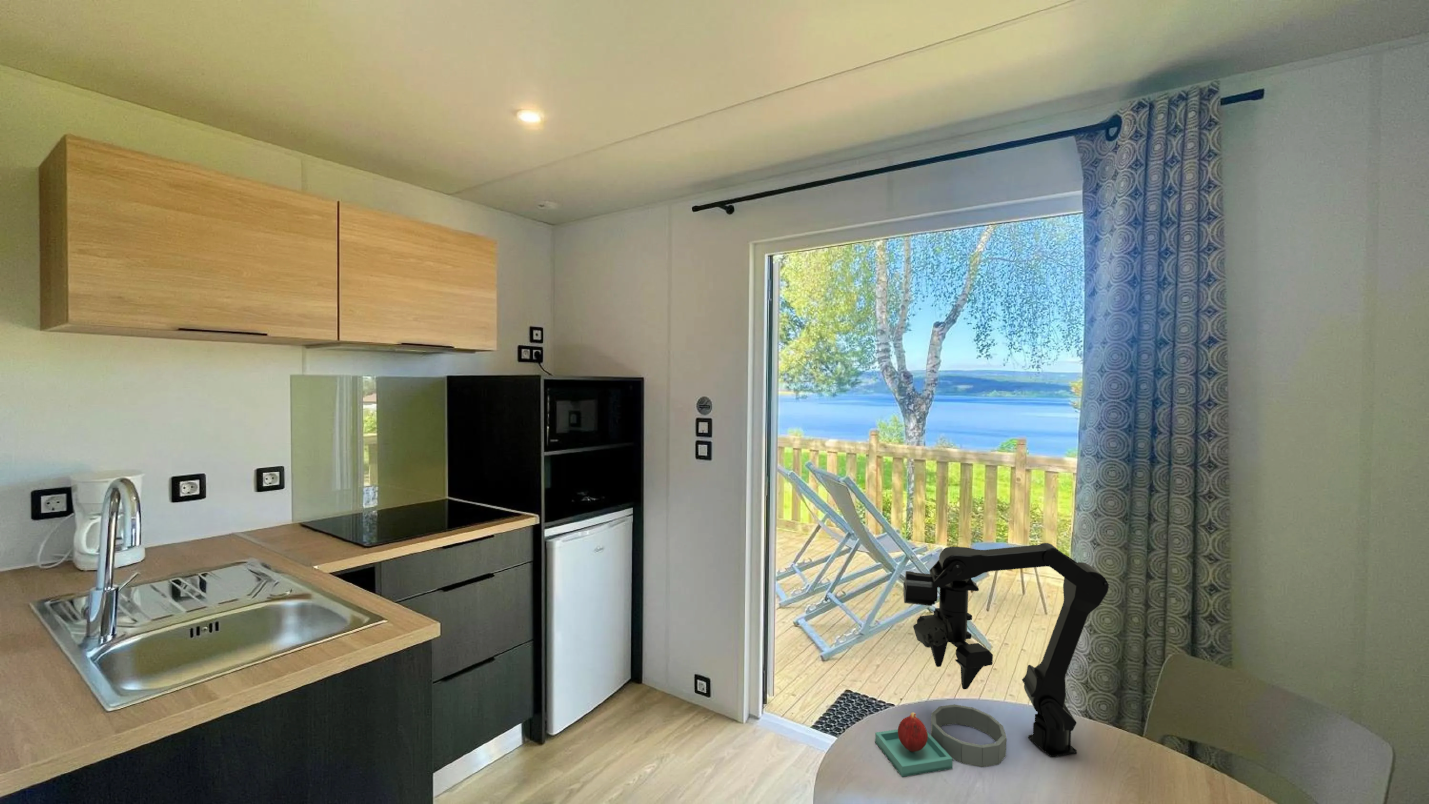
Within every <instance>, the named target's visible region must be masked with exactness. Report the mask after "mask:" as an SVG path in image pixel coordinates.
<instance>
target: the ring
mask: <svg viewBox="0 0 1429 804" xmlns="http://www.w3.org/2000/svg"><path fill="white" fill-rule="evenodd" d="M942 725H944V726H951V725H960V726H964V725H966V727H970V728H973V727H974V729H975V730H978V731H980V732H982V733H984V734H986V735H988V736H989V737H990V738H991V739H992V740H994V742H993V743H986V744H977V743H973V742H967V741H963V740H961V739H958V738H957V737H954V736H953V735H949V734H948V733H946V732H945V730H943V729H942V727H943V726H942ZM930 735H931V736H932V737H933V738H934V739H935V740H936V741H937V742H938V744H939V745H940V746H941V747H942V748H943V749H944V750H945V751H946V752H947V753H948V754H949V755H950V756H951V757H952V758H953V760H955V761H957V762H959V763H960V764H963V765H969V766H975V767H979V768H986V767H991V766H997V765H999V764H1001V762H1002V761H1003V760H1004V759H1005V758H1006V756H1007V737H1008V736H1007V734H1006V731H1005V727H1004V725H1003V724H1002V723H1000V722H999V720H997V719H996V718H994V717H993V715H991V714H988V713H986V712H984V711H982V710H980V709H977V708H974V707H973V706H966V705H959V704H948V705H947V704H946V705H939V706H938V707H937V708H935V710H933V711H932V712H931V713H930Z"/></svg>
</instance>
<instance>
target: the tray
mask: <svg viewBox="0 0 1429 804" xmlns="http://www.w3.org/2000/svg"><path fill="white" fill-rule="evenodd" d="M874 733H875V735H874V736H875V737H874V738H875V740H874V742H875V744H876V745H877V746H878V747H879V749H880V750H881V751H882V753H883V754H884V755H885V757H886V758H887V760H889V762H890V763H891V764H892V766H893V768H894V769H895V770H896V771H897V772H898V774H899V775H900V776H901V778H905V777H912V776H917V775H923V774H929V773H935V772H941V771H942V772H943V771H948V770H953V766H954V765H953V764H954V763H953V762H954V761H953V760H954V759H953V758H952V757H951V756H950V755H949V754H948V753H947V752H946V751H945V750H944V749H943V748H942V747H941V746H940V745H939V744H938V742H937V741H936V740H935V739H934V738H933V737H932V736H931V733H929V732H928V731H927V734H928V739H927V743H926V745H925V746H924V748H922V749H921V750H919V751H915V752H911V751H909V750H908V749H906V748H905V747H904V746H903V745H902V743H901V742H900V740H899V737H898V728H897V729H889V730H883V731H875V732H874Z"/></svg>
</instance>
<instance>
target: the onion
mask: <svg viewBox="0 0 1429 804" xmlns="http://www.w3.org/2000/svg"><path fill="white" fill-rule="evenodd" d="M897 729H898V737H899V740H900V742H901V743H902V745H903V746H904V747H905V748H906V749H908V750H909V751H911V752H915V751H919V750H921V749H922V748H924V746H925V745H926V743H927V739H928V734H927V732H928V731H927V728H926V725H925V724H924V722H923V721H922V720H921V719H920V718H918V717H917V713H915V712H914V711H912V712H910V715H909V716H906V717H904V718H903V719H902V720H901V721H900V722H899V724H898V727H897Z"/></svg>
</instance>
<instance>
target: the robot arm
mask: <svg viewBox="0 0 1429 804" xmlns="http://www.w3.org/2000/svg"><path fill="white" fill-rule="evenodd" d="M1044 567H1047V568H1048V567H1049V568H1051V569H1052V570H1053V571H1055V572H1056V573H1058V574H1059V575H1061V577H1063V585H1062V590H1063V602H1062V606H1061V609H1060V611H1059V614H1058V617H1057V620H1056V623H1055V625H1054V628H1053V630H1052V633H1051V635H1050V639H1049V642H1048V644H1047V646H1046V650H1045V651H1044V655H1043V657H1042V660H1041V662H1040V663H1039V664H1038V665H1036V666H1035V667H1034V666H1033V665H1031V664H1027V667H1026V673H1025V676H1024V677H1023V678H1022V679H1021V680H1022V683H1023V688H1024V689H1023V690H1024V691H1025V693H1026V695H1027V698H1028V699H1029V701H1030V703H1031V705H1032V707H1033V708H1034V710H1035V711H1036V712H1037V713H1035V714H1034V722H1032V723H1033V724H1032V727H1033V728H1032V734H1028V737H1027V738H1028V739H1029V741H1031V742H1032V743H1033V744H1035V745H1036V746H1037V747H1039V748H1040V750H1041V751H1043V752H1044V753H1045V754H1046V755H1048V756H1049V757H1050V758H1055V757H1063V756H1068V755H1073V754H1077V753H1078V751H1077V749H1076V748H1075V747H1074V746H1072V745H1071V740H1072V731H1074V729H1075V727H1076V725H1077V721H1076V719H1075V718H1074V716H1073V714H1072V713H1071V711H1070V710H1069V707H1067V705H1066V704H1065V701H1066V695H1067V691H1066V689H1067V688H1066V675H1067V673H1068V670H1069V667H1070V665H1071V662H1072V660H1073V657H1074V654H1075V652H1076V648H1077V647H1078V643H1079V641H1080V639H1081V635H1082V633H1083V630H1084V627H1085V625H1086V622H1087V620H1088V618H1089V615H1090V614H1091V613H1092V612H1094V611H1095V610H1096V609H1097V608H1098V607H1100V605H1101V604H1102V602H1103V601H1104V599H1105V598H1106V596H1107V595H1108V592H1109V590H1110V589H1109V588H1110V587H1109V585H1110V584H1109V582H1108V581H1107V578H1106V577H1104V576H1103V575H1102V574H1101V573H1100V572H1099V571H1098V570H1096V569H1095V568H1094V567H1092V566H1091V565H1090V564H1088V563H1086V562H1082V561H1079V562H1077V561H1076V560H1074V559H1072V557H1070V556H1069V555H1067V554H1065V553H1063V552H1062V551H1061V550H1059V549H1058V548H1057V547H1056V546H1054V545H1053V544H1051V543H1049V542H1042V543H1040V544H1039V543H1038V544H1033V545H1031V544H1030V545H1021V546H1020V545H1019V546H1013V547H1012V546H1011V547H1002V548H992V549H976V548H971V547H964V546H947V547H945V548H943V550H941V552H940V554H939V557H938V560H937V561H936V562H935V564H933V566H932V567H931V568H930V569H929V570H928V572H929V573H922V572H914V571H912V570H911V571H910V570H906V571H905V574H904V575H905V576H904V582H903V589H902V590H903V591H902V592H903V603H904V604H909V605H920V606H929V607H932V606H933V605H935V604H936V602H937V601H938V594H939V603H938V605H939V606H938V607H937V608H934V610H933V614H927V615H920V616H919V617H918V618H917V619H916V623H914V624H913V626H912V628H913V632H914V634H915V637H916V640H917V641H918V642H920V643H921V644H922V645H923V646H924V647H925V648H928V649H929V648H930V649H931V654H932V657H933V660H934V663H935V666H936V667H937V668H940V667H942V665H943V662H944V659H945V654H946V651H947V648H948V643H950V644H952V645H953V647H956V649H955V657H956V659H954V660H955V662H956V663H957V664H958V665H959V666H960V679H961V680H960V682H961V688H962V690H968V689H969V687H970V686H971V684H972V683H973V681H974V679H975V678H976V677H977V675H978V673H979V672H980V671H981V670H982V668H984V667H988V666H993V662H994V661H993V659H994V654H993V653H992V652H991V651H990V650H988V649H987V648H986V647H985V646H983V645H981V644H980V643H979V642H974V643H969V642H967V641H966V640H970V639H971V640H972V633H971V632H969V631H968V621H972V620H973V615H972V614H971V613H969V609H968V608H969V591H971V592H978V591H980V589H979V587H978V585H977V583H976V582H975V581H974V580H973V579H974V578H977V577H979V576H981V575H983V574H986V573H989V572H998V571H1000V572H1001V571H1010V570H1020V569H1030V568H1031V569H1032V568H1044ZM938 588H939V591H938ZM938 592H939V593H938Z"/></svg>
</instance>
